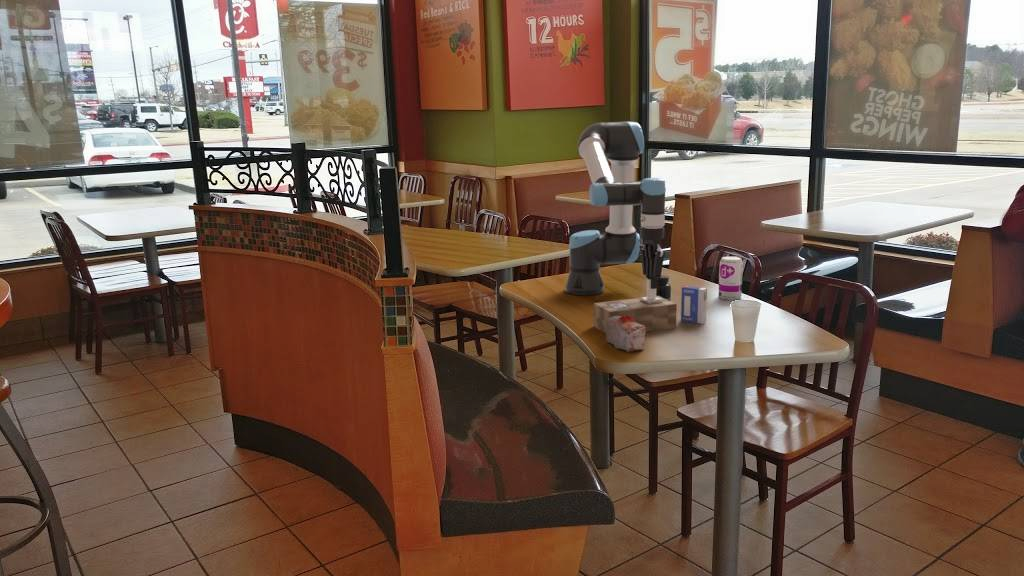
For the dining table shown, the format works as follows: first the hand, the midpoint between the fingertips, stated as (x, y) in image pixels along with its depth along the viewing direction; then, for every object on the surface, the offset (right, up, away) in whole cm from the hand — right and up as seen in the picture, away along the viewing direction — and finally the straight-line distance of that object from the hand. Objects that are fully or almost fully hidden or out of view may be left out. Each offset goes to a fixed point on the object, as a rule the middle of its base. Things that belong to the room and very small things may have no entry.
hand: (651, 297), depth 269 cm
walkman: (+15, -8, +5) cm, 18 cm away
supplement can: (+35, -1, +36) cm, 50 cm away
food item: (-11, -15, -20) cm, 27 cm away
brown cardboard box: (-5, -10, 0) cm, 11 cm away
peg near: (-11, -10, -2) cm, 15 cm away
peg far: (0, -8, +2) cm, 8 cm away
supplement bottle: (+7, -5, +21) cm, 23 cm away
